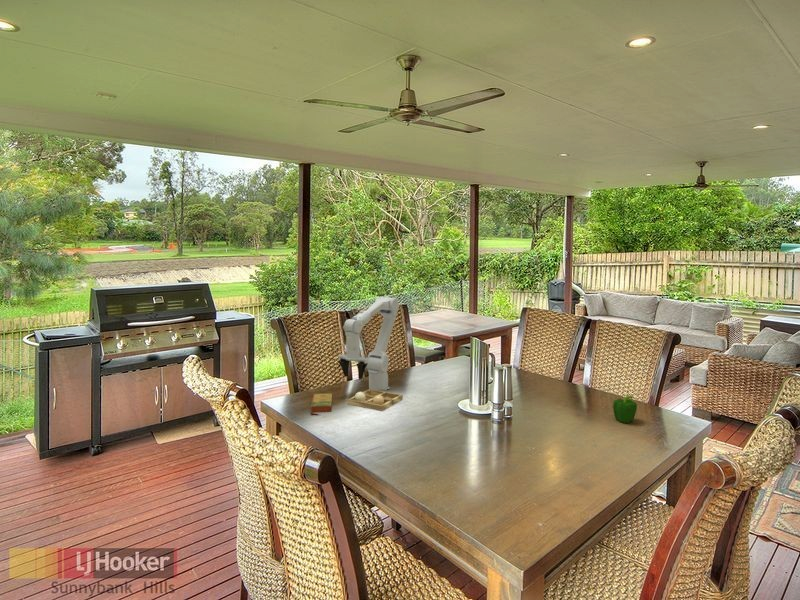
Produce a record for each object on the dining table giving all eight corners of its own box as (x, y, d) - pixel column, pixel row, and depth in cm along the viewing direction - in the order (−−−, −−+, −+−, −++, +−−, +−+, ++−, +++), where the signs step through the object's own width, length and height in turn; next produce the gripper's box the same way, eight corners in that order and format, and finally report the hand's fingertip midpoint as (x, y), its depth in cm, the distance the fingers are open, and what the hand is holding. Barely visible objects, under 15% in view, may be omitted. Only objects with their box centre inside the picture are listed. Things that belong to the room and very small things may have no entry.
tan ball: (376, 403, 204) (376, 392, 204) (386, 405, 202) (386, 394, 202) (370, 406, 201) (370, 395, 200) (380, 408, 198) (380, 397, 198)
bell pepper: (612, 423, 186) (614, 397, 185) (611, 416, 193) (612, 391, 192) (637, 426, 183) (638, 400, 182) (634, 418, 191) (636, 393, 189)
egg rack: (369, 395, 218) (369, 388, 218) (402, 401, 210) (402, 394, 210) (347, 407, 204) (347, 399, 203) (382, 413, 195) (382, 406, 195)
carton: (332, 402, 211) (332, 392, 210) (331, 415, 195) (331, 405, 194) (313, 403, 210) (313, 393, 209) (310, 416, 194) (310, 405, 193)
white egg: (361, 402, 208) (356, 392, 209) (369, 399, 206) (365, 388, 207) (355, 405, 204) (351, 395, 205) (363, 402, 202) (359, 391, 203)
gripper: (333, 346, 211) (334, 377, 212) (361, 350, 204) (362, 381, 205) (343, 343, 217) (343, 373, 219) (370, 347, 210) (371, 377, 212)
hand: (353, 377), depth 212 cm, fingers open, 7 cm apart
